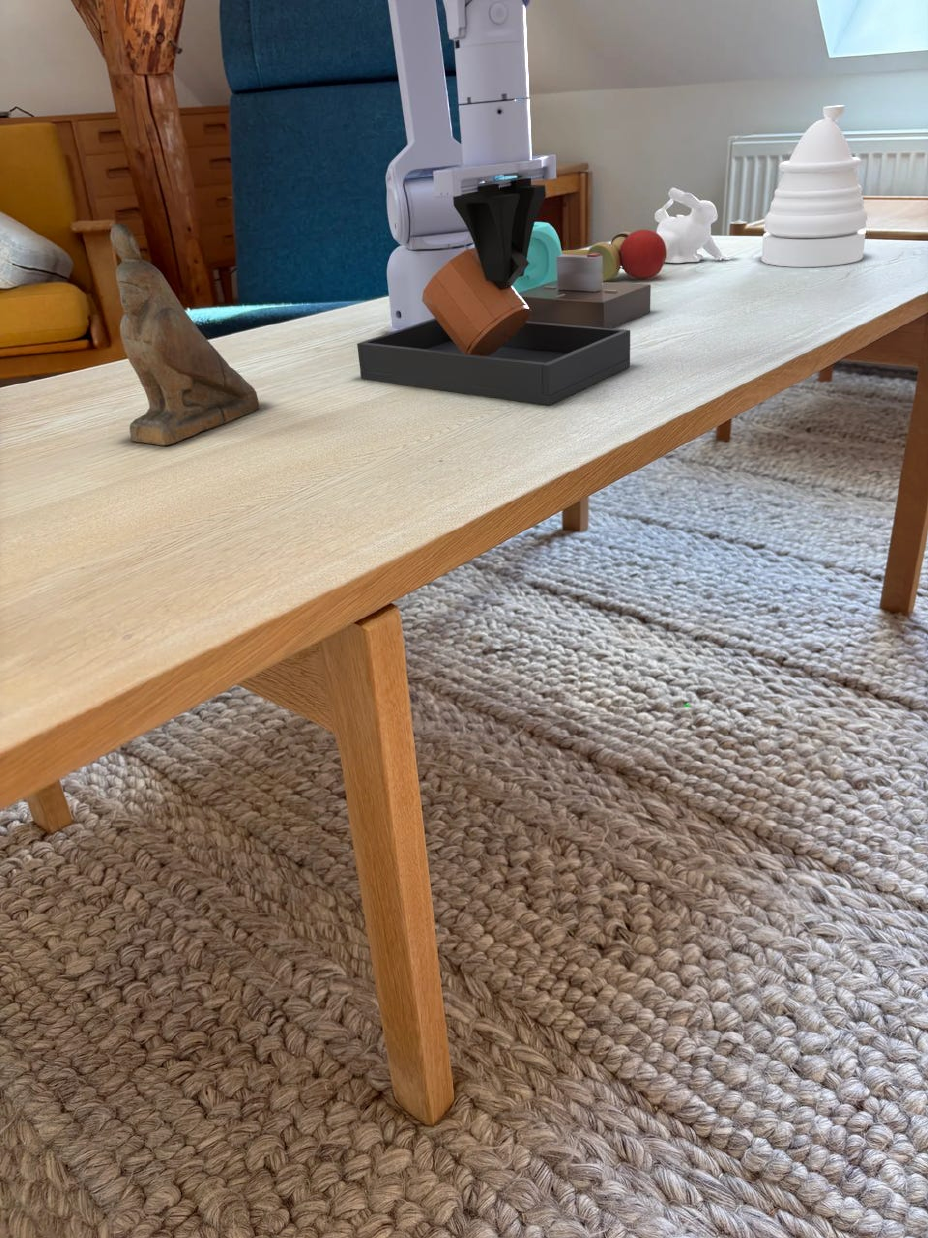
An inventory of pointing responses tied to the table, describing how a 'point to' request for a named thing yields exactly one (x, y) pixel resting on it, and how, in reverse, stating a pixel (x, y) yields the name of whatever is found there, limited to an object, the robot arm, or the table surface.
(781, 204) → the honey pot
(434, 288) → the pot
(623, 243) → the kendama
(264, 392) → the table surface
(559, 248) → the decorative dice
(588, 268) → the grey block with red
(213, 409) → the worn brown figurine
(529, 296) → the panel
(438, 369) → the dark grey tray
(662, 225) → the rabbit figurine
